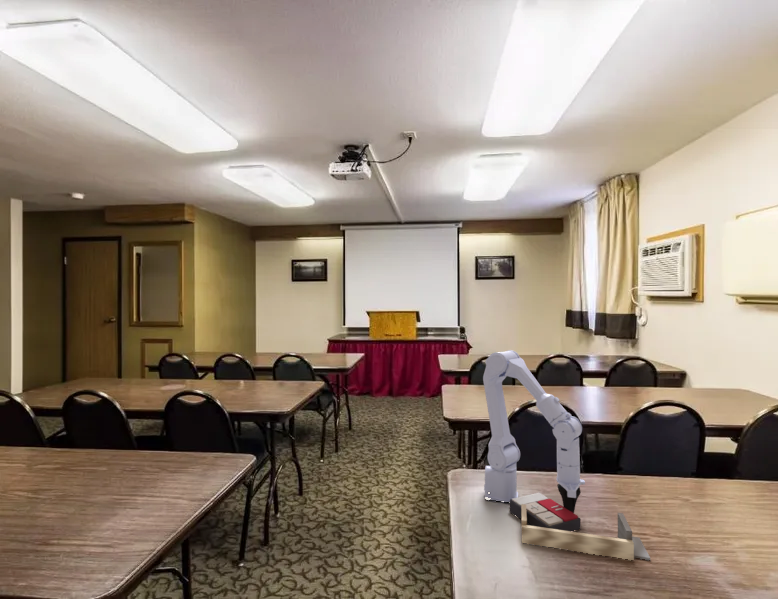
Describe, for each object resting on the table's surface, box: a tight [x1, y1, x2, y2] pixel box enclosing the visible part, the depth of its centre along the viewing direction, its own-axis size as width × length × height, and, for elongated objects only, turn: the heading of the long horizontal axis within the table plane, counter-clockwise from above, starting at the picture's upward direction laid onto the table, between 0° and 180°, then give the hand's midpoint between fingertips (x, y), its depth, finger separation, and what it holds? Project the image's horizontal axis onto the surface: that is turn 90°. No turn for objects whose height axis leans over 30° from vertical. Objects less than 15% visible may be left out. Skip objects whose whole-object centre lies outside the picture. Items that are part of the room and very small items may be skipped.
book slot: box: [521, 504, 651, 561], centre depth 103 cm, size 28×10×6 cm, turn 73°
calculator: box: [509, 492, 582, 532], centre depth 113 cm, size 11×4×15 cm
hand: (569, 513), depth 114 cm, fingers closed
